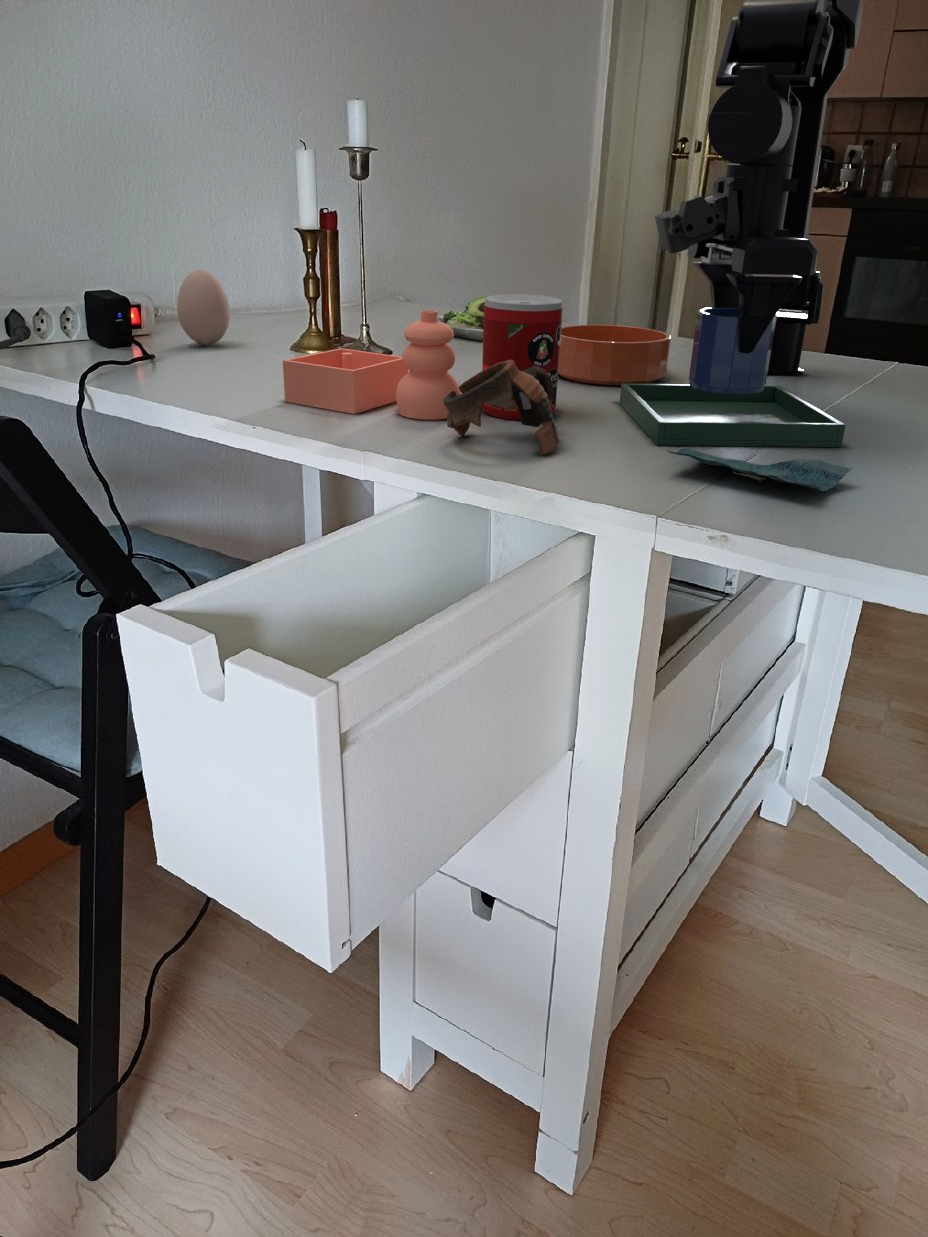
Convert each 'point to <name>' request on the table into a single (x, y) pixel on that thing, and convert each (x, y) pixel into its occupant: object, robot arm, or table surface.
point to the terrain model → (780, 470)
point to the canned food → (522, 338)
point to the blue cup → (727, 355)
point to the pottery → (379, 375)
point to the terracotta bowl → (613, 354)
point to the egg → (203, 307)
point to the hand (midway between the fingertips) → (732, 345)
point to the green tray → (728, 417)
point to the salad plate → (467, 320)
